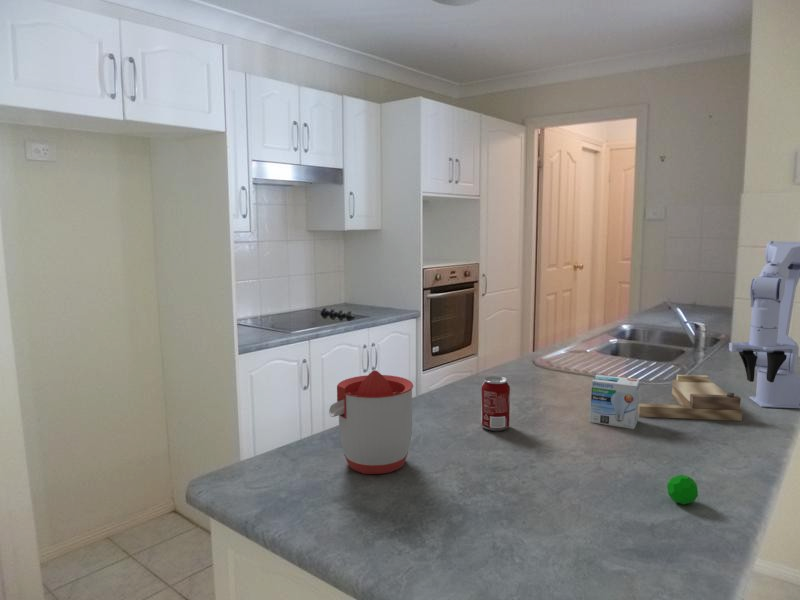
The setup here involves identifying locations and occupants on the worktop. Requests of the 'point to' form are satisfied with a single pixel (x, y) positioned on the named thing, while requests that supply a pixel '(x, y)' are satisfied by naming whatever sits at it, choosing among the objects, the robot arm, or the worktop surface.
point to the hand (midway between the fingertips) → (760, 381)
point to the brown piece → (686, 410)
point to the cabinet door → (715, 401)
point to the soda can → (495, 403)
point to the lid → (696, 385)
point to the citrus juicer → (374, 421)
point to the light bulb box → (615, 401)
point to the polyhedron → (682, 489)
